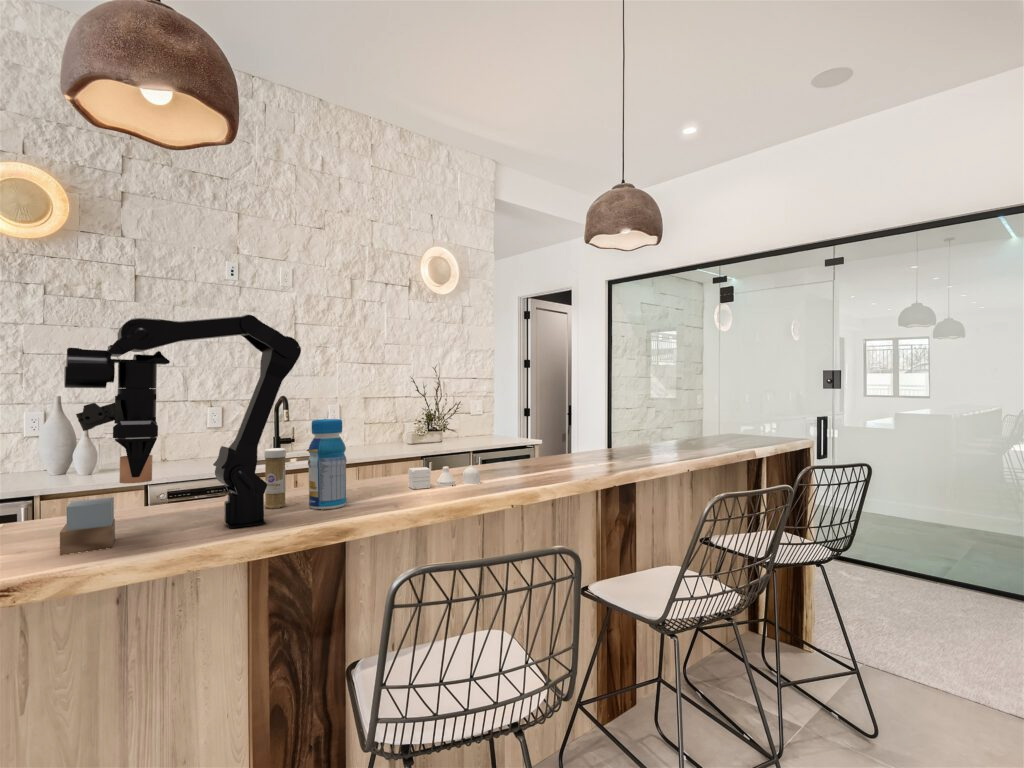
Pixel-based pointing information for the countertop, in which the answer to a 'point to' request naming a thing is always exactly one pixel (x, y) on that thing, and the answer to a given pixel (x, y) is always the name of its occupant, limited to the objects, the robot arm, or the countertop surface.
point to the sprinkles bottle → (275, 477)
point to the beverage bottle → (327, 465)
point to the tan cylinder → (126, 473)
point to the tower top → (90, 513)
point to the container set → (422, 477)
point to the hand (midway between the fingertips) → (135, 475)
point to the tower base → (86, 539)
